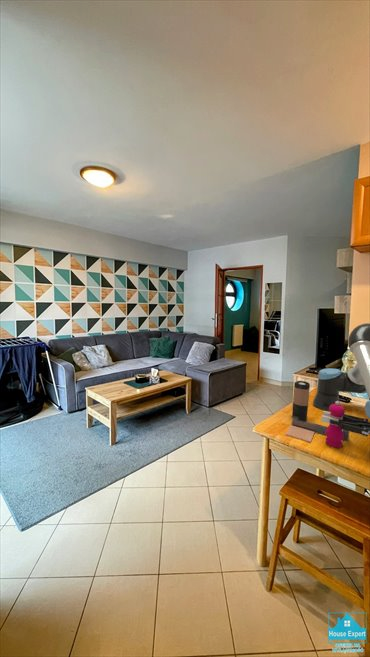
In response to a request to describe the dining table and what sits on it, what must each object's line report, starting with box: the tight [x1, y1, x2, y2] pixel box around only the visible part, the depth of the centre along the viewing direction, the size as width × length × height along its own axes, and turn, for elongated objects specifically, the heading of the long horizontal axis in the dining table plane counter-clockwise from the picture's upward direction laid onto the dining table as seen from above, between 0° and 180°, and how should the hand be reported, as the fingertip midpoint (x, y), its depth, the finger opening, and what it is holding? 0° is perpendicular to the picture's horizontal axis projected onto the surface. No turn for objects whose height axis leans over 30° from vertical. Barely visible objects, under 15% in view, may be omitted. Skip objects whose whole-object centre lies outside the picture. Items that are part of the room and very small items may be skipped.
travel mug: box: [291, 380, 311, 421], centre depth 139 cm, size 8×8×20 cm
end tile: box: [285, 424, 316, 444], centre depth 123 cm, size 11×11×1 cm
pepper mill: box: [324, 401, 346, 449], centre depth 114 cm, size 7×7×20 cm
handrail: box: [291, 416, 350, 443], centre depth 125 cm, size 24×2×4 cm, turn 55°
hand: (322, 416), depth 117 cm, fingers closed on pepper mill, 5 cm apart
